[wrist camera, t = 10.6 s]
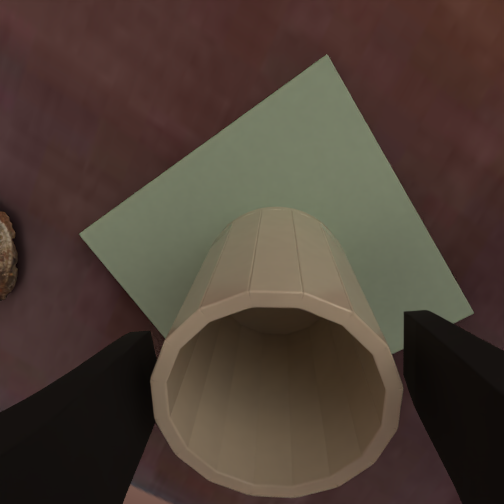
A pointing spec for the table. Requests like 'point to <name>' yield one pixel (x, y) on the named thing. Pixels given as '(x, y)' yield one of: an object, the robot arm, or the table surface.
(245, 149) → the mat
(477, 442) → the robot arm
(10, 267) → the decorative disc
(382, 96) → the table surface
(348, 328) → the cup
